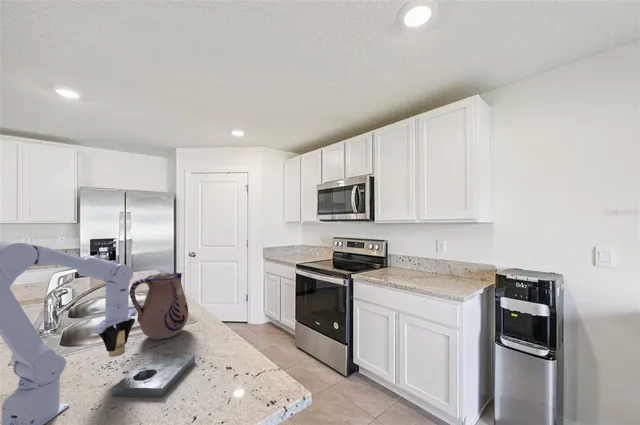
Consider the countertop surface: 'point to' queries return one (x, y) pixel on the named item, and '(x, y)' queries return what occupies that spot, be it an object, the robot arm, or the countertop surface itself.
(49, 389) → the robot arm
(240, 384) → the countertop surface
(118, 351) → the slip bushing
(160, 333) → the ceramic pitcher
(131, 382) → the plate
